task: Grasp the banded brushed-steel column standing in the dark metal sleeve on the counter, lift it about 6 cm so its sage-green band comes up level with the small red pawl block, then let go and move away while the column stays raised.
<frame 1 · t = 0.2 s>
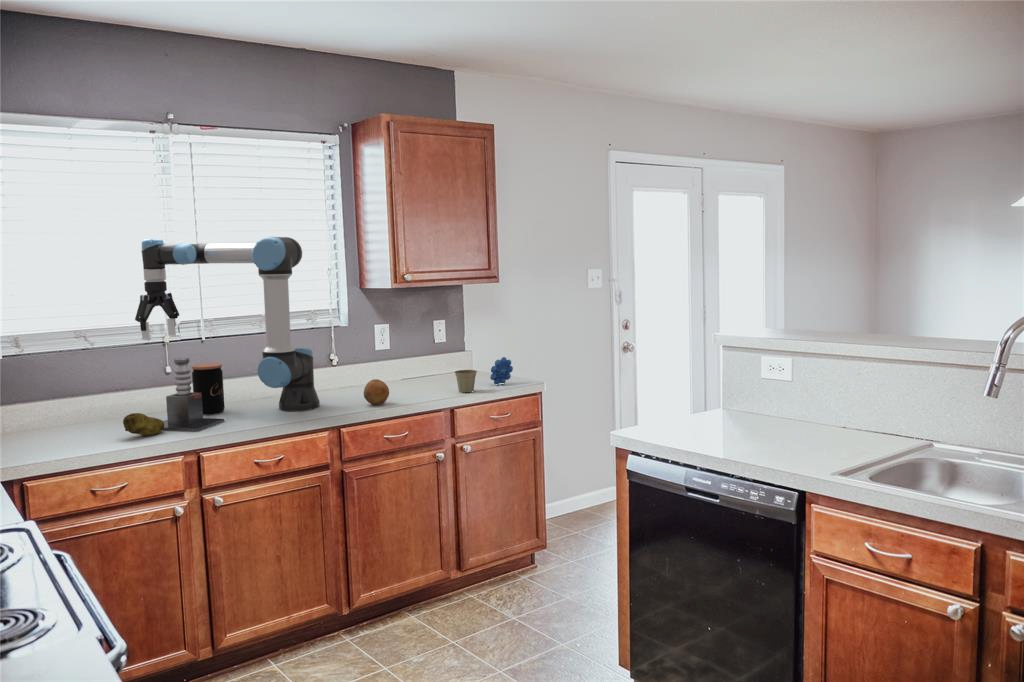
hand: (159, 337, 304), 28 cm above the worktop, fingers open, 13 cm apart
column: (183, 390, 280), point 12 cm above the worktop, slide at 0.0 cm
coffee jar: (209, 413, 304), on the worktop
grapes: (500, 384, 354), on the worktop
flower pot: (466, 392, 337), on the worktop
brown ball: (377, 405, 312), on the worktop
stand: (186, 425, 281), on the worktop
potato: (145, 436, 267), on the worktop
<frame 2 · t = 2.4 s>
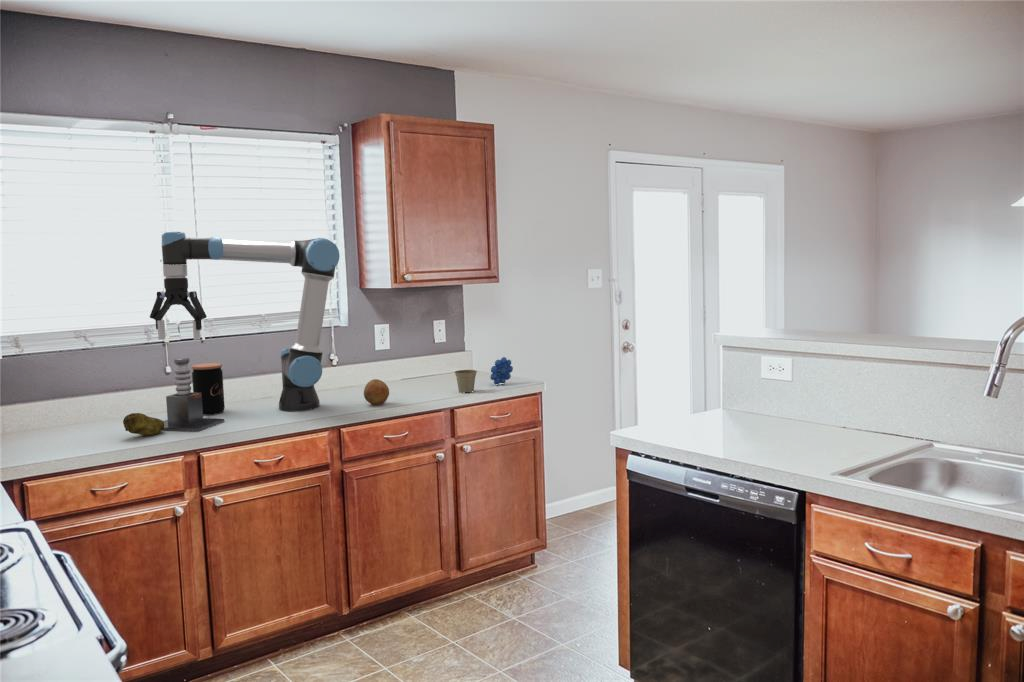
hand: (179, 339, 278), 30 cm above the worktop, fingers open, 13 cm apart
nothing on the worktop moved.
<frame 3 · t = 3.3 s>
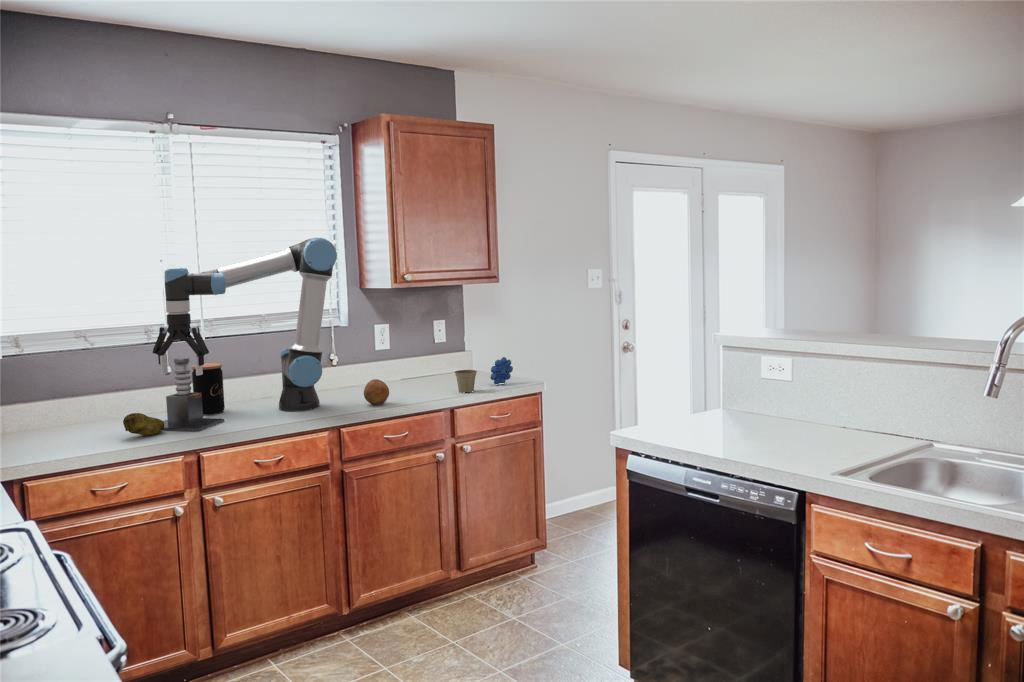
hand: (181, 374, 279), 18 cm above the worktop, fingers open, 13 cm apart
nothing on the worktop moved.
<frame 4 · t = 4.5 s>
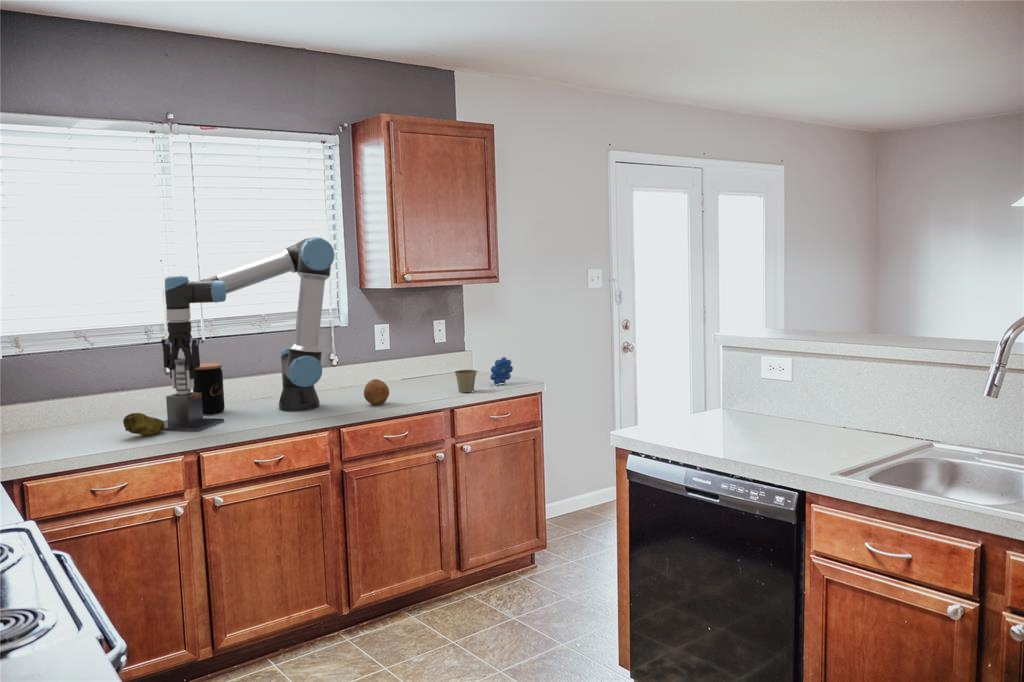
hand: (183, 388, 280), 13 cm above the worktop, fingers closed on column, 5 cm apart
column: (183, 390, 280), point 12 cm above the worktop, slide at 0.0 cm, touching gripper
everything else where it was.
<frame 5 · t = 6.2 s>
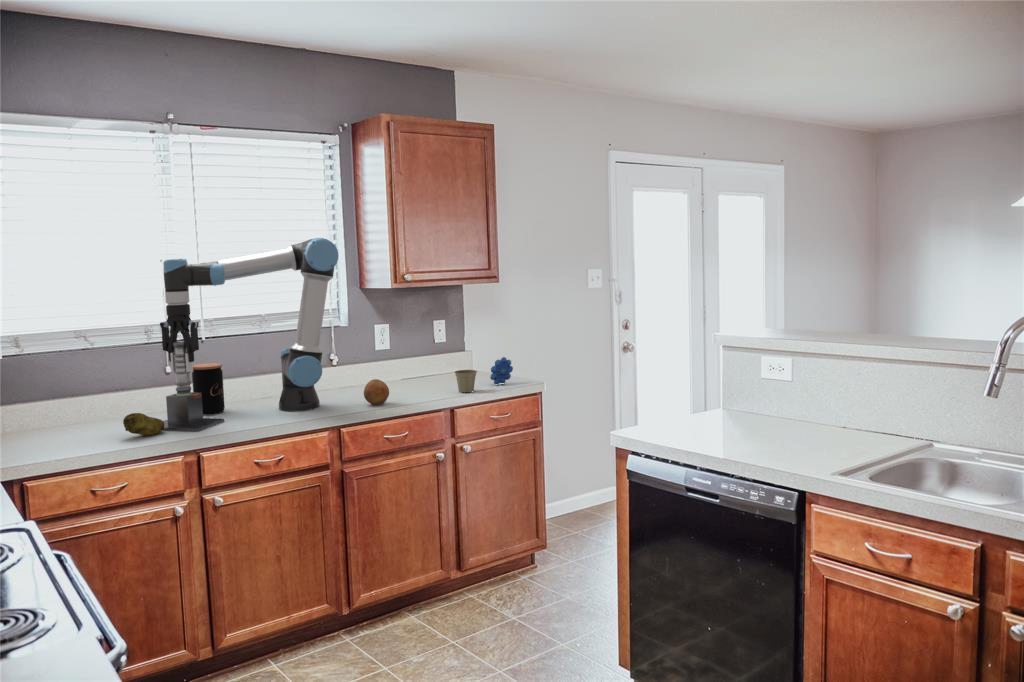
hand: (182, 371, 279), 19 cm above the worktop, fingers closed on column, 5 cm apart
column: (182, 373, 279), point 18 cm above the worktop, slide at 5.9 cm, touching gripper
everything else where it was.
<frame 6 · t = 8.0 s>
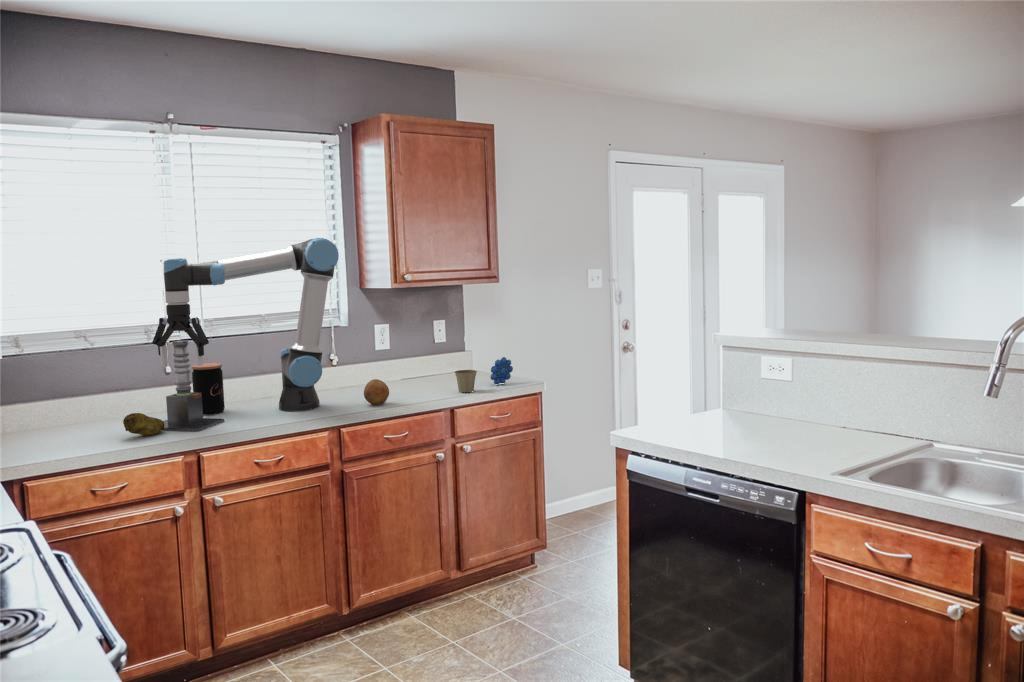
hand: (181, 365, 279), 21 cm above the worktop, fingers open, 13 cm apart
column: (182, 373, 279), point 18 cm above the worktop, slide at 6.0 cm
everything else where it was.
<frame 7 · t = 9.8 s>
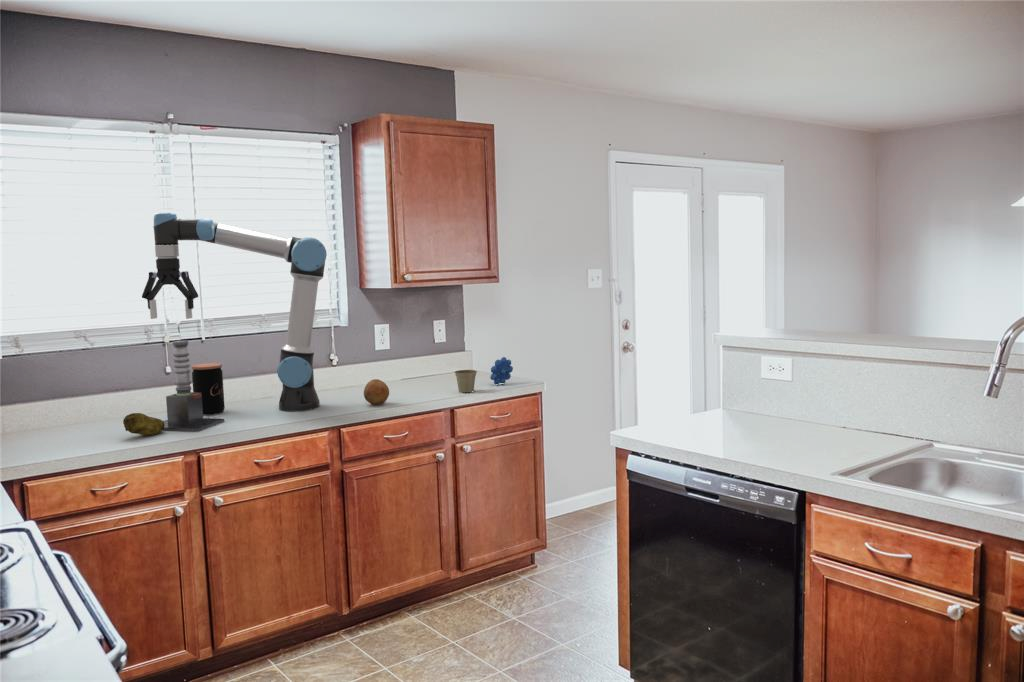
hand: (171, 318, 284), 37 cm above the worktop, fingers open, 13 cm apart
nothing on the worktop moved.
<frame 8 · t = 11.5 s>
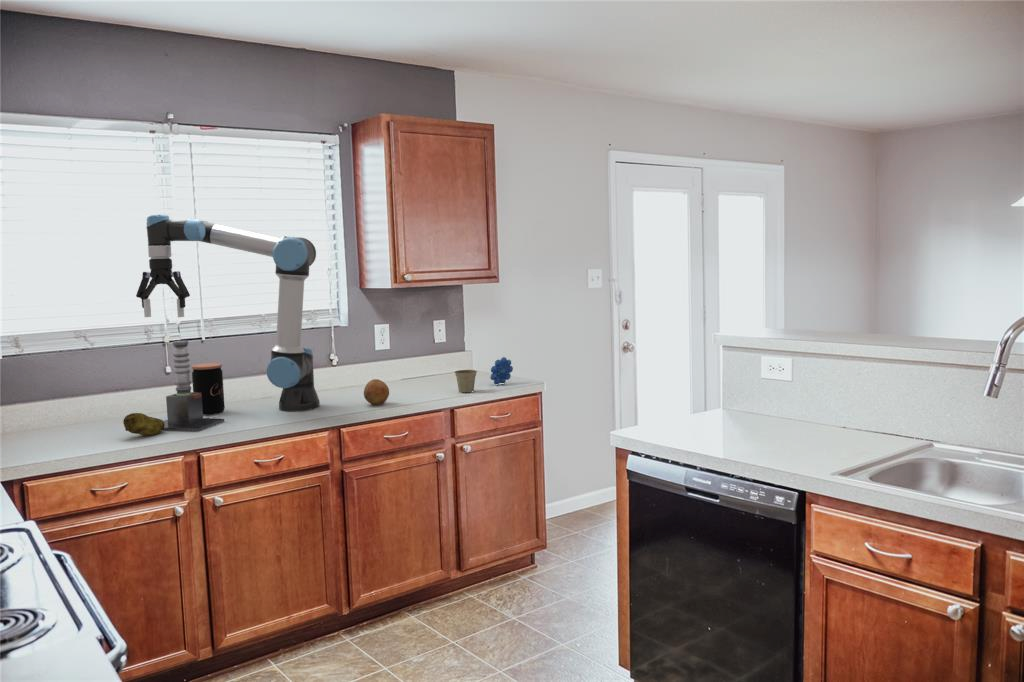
hand: (164, 317, 293), 37 cm above the worktop, fingers open, 13 cm apart
nothing on the worktop moved.
at the end: column slide at 6.0 cm; the gripper is holding nothing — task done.
